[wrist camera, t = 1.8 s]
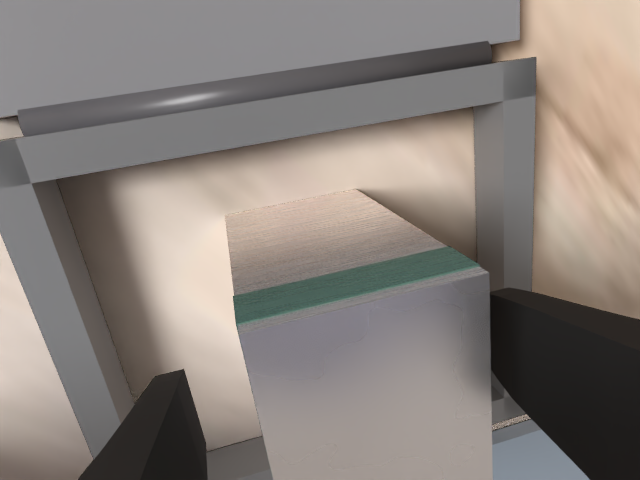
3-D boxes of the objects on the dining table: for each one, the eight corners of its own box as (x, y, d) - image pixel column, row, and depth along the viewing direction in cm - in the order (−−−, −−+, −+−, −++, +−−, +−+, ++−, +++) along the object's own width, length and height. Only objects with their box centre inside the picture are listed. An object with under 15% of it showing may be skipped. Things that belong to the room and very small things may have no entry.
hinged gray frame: (134, 497, 15) (126, 539, 14) (-324, -688, 7) (-466, -896, 5) (503, 387, 17) (529, 412, 16) (499, -587, 9) (551, -711, 8)
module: (262, 385, 15) (303, 609, 8) (223, 214, 13) (236, 333, 6) (375, 354, 16) (494, 539, 9) (355, 188, 13) (490, 271, 7)
